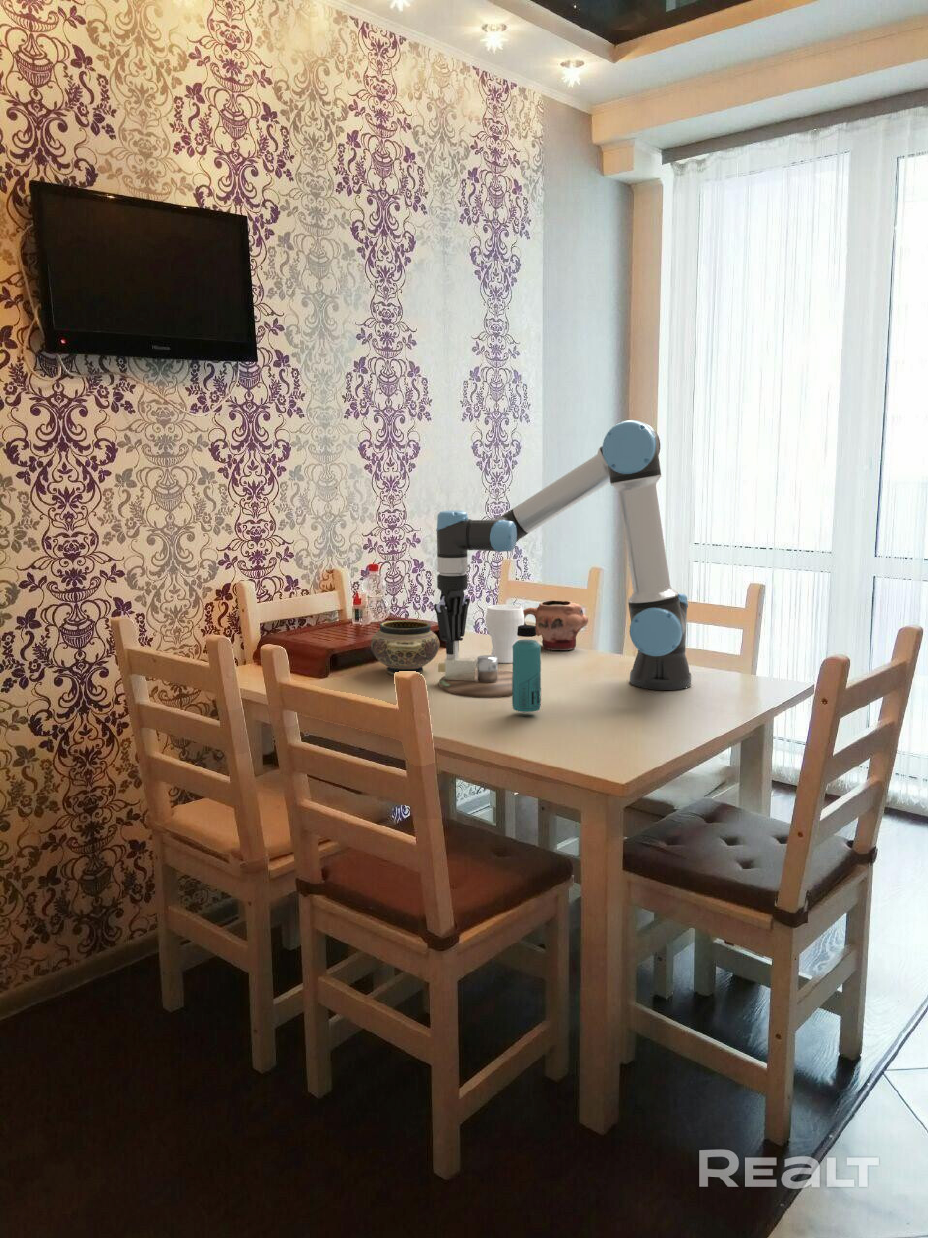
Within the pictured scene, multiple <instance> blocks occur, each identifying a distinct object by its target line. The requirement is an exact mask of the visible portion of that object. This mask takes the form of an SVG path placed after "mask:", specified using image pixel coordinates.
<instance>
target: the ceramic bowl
mask: <svg viewBox="0 0 928 1238" xmlns="http://www.w3.org/2000/svg"><path fill="white" fill-rule="evenodd" d="M431 627H432V625H431V623H430V622H426V621H420V620H409V619H408V620H407V619H406V620H403V619H401V620H400V619H394V620H387V621H383V622H380V623H379V630H378V631H377V632H375V633H374V634H373V635H372V638H371V641H370V648H371V649H370V650H371V651H372V653H373V655H374V657H375V658H376V659H377V661H379V662H380V663H381V664H383V665H384V666H386V667H387V669H386V670H387V671H386V672H387V673H389V674H391V675H394V673H395V672H399V671H416V672H420V673H419V674H421V673H423V672H424V667H425V666H426V665H428V664H429V663H430V662H432V661H433V660H434V659H435V657H436V656H437V654H438V653H439V649H440V644H441V643H440V640H439V639H440V638H438V635H437V634H436V633H434V631H432V630H431Z"/></svg>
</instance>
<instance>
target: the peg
mask: <svg viewBox="0 0 928 1238" xmlns="http://www.w3.org/2000/svg"><path fill="white" fill-rule="evenodd" d="M498 665H499V663H498V657H497V656H492V655H491V654H490V655H489V654H488V655H487V654H484V655H479V656H477V658H459V659H458V658H447V657H446V658H445V660H444V662H439V663H438V669H437V670H438V673H444V676H445V680H465V681H475V680H476V670H477V680H478V681H479V682H485V683H490V682H496V681H497V679H498V670H499V669H498Z"/></svg>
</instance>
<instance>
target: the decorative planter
mask: <svg viewBox="0 0 928 1238" xmlns="http://www.w3.org/2000/svg"><path fill="white" fill-rule="evenodd" d="M523 613H524V625H527V623H526V622H525V619H526V617H527V616H528V615H533V616H534V619H535V625H534V626H535V627H536V636H537V637H539V636H541V637H542V641H541V643H542V647H543V649H546V650H550V649H551V650H552V651H558V650H559V651H569V650H574V649H575V648H576V647H577V635H578V634H579V632H580V631H581V630H583V628H584V627H586V626H587V625H588V623H589V618H588V616H587V615H585V614H584V611H583V608H582V606H581V604H579V603H576V602H573V601H569V600H568V601H567V600H544V601H542V602H539V604H538V607H527V608H525V609H523Z"/></svg>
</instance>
